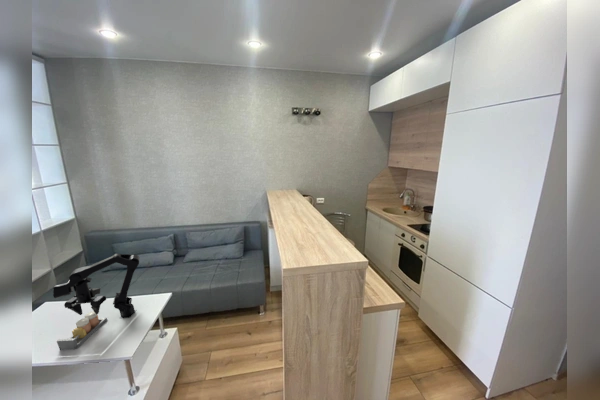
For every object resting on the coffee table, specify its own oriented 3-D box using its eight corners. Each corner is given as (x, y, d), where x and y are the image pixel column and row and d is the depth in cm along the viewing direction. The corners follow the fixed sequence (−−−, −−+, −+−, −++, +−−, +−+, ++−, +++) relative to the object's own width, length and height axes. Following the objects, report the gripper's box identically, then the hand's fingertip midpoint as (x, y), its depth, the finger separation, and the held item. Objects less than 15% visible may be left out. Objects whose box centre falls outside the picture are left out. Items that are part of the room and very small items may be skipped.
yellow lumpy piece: (76, 336, 123) (73, 327, 122) (87, 336, 123) (84, 327, 122) (70, 342, 120) (66, 333, 118) (81, 341, 120) (78, 332, 119)
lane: (93, 321, 135) (90, 312, 134) (107, 320, 135) (105, 311, 134) (60, 350, 116) (56, 341, 114) (76, 349, 116) (73, 340, 115)
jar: (102, 322, 134) (98, 310, 132) (94, 329, 129) (91, 317, 127) (93, 322, 134) (90, 311, 132) (85, 329, 128) (81, 317, 127)
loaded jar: (94, 329, 129) (91, 317, 127) (86, 336, 124) (82, 324, 122) (85, 329, 128) (81, 317, 127) (77, 337, 123) (73, 325, 122)
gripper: (110, 281, 133) (116, 303, 137) (78, 282, 133) (85, 305, 136) (94, 293, 122) (101, 317, 126) (59, 295, 122) (67, 318, 125)
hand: (89, 314), depth 129 cm, fingers open, 9 cm apart
